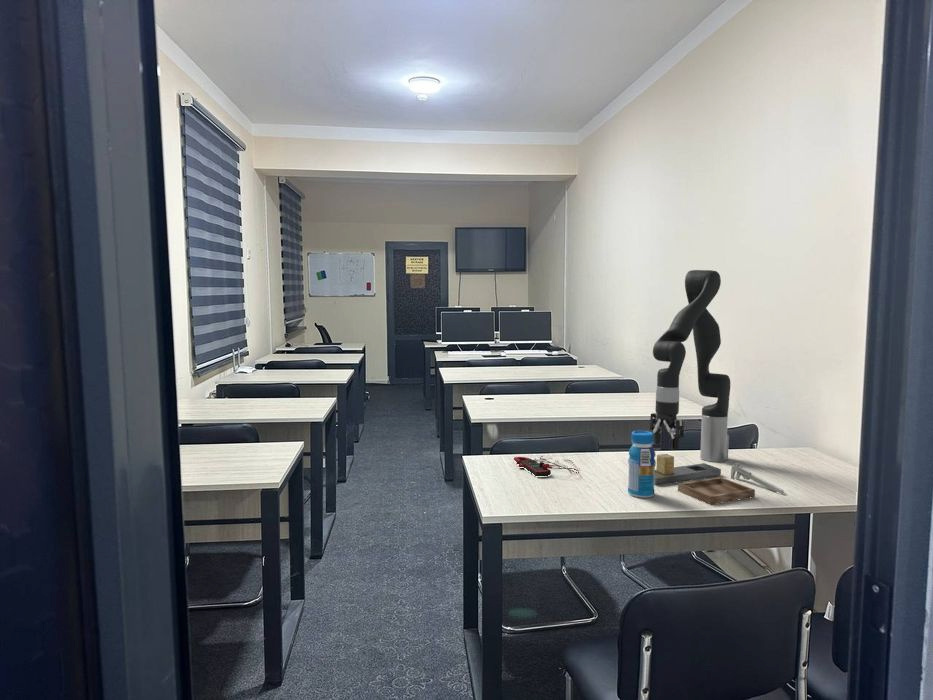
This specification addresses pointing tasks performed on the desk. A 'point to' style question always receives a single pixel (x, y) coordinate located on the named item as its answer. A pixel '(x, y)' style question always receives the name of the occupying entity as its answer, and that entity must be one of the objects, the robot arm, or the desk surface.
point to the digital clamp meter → (538, 466)
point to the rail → (687, 474)
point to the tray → (715, 490)
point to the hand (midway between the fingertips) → (665, 446)
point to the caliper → (752, 477)
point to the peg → (665, 464)
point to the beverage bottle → (641, 465)
